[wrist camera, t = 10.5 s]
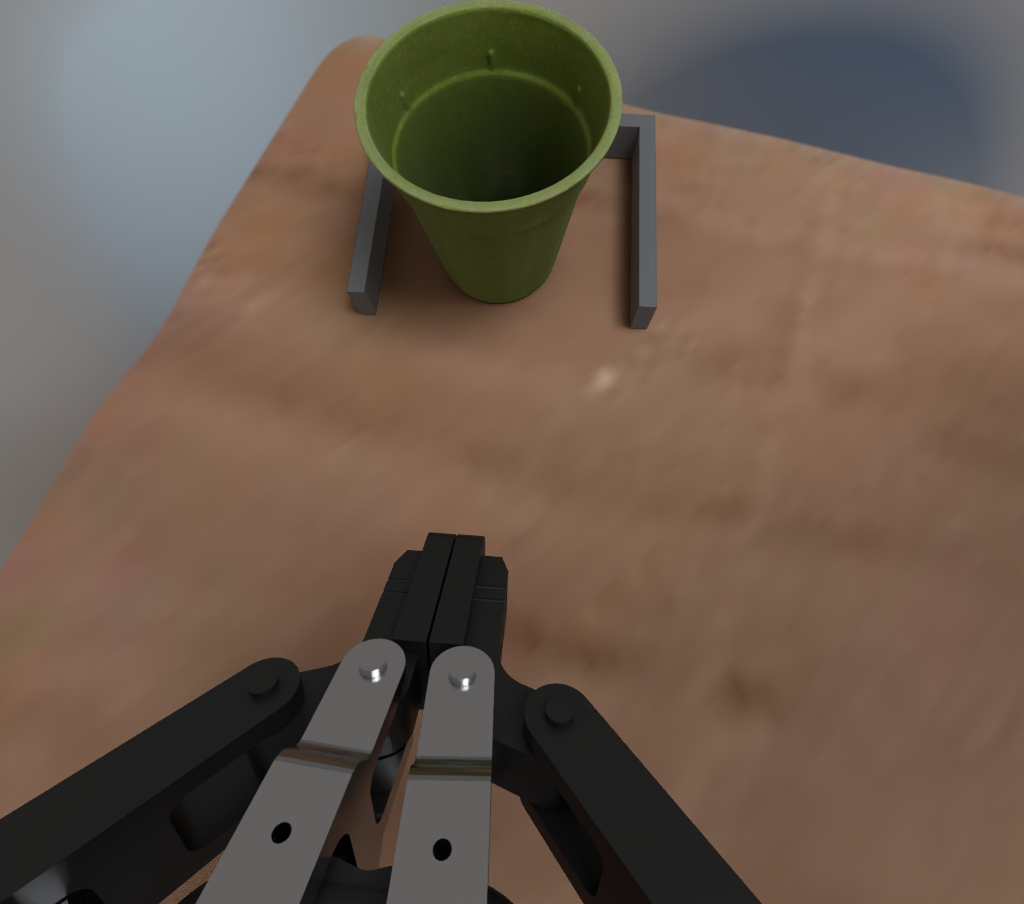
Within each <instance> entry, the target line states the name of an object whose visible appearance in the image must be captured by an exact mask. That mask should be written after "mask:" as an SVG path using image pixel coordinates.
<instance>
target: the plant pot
mask: <svg viewBox="0 0 1024 904" xmlns="http://www.w3.org/2000/svg"><path fill="white" fill-rule="evenodd" d="M621 113H622V89H621V83H620V79H619V76H618V73H617V70H616V68H615V66H614V64H613V62H612V60H611V58H610V57H609V55H608V53H607V52H606V50H605V49H604V48H603V47H602V46H601V45H600V44H599V42H598V41H597V40H596V39H595V38H594V37H593V36H592V35H591V34H590V33H589V32H587V31H586V30H585V29H584V28H582V27H581V26H580V25H578V24H577V23H575V22H574V21H572V20H571V19H569V18H567V17H565V16H563V15H561V14H559V13H557V12H554V11H552V10H549V9H547V8H545V7H541V6H538V5H534V4H530V3H526V2H520V1H513V0H473V1H464V2H460V3H456V4H451V5H447V6H444V7H441V8H438V9H435V10H432V11H430V12H428V13H426V14H423V15H421V16H419V17H417V18H416V19H414V20H412V21H410V22H409V23H407V24H406V25H404V26H403V27H401V28H400V29H398V30H397V31H396V32H394V33H393V34H392V35H391V36H390V37H388V38H387V39H386V40H385V41H384V42H383V43H382V44H381V45H380V47H379V48H378V49H377V50H376V52H375V53H374V54H373V56H372V57H371V59H370V60H369V61H368V63H367V65H366V67H365V69H364V71H363V73H362V75H361V77H360V80H359V83H358V87H357V91H356V95H355V102H354V117H355V124H356V130H357V134H358V137H359V140H360V143H361V145H362V148H363V150H364V152H365V153H366V155H367V157H368V159H369V160H370V161H371V163H372V164H373V166H374V167H375V168H376V169H377V171H378V172H379V173H380V174H381V175H382V176H383V177H384V178H385V179H386V180H387V181H388V182H389V183H391V184H392V185H393V186H394V187H396V188H397V189H398V191H399V192H400V194H401V195H402V197H403V198H404V199H405V200H406V202H407V203H408V204H409V205H410V206H411V207H412V209H413V210H414V212H415V214H416V216H417V218H418V220H419V222H420V223H421V225H422V227H423V229H424V231H425V233H426V235H427V236H428V238H429V240H430V242H431V244H432V246H433V248H434V249H435V251H436V253H437V255H438V257H439V259H440V261H441V263H442V264H443V266H444V268H445V270H446V272H447V273H448V275H449V277H450V278H451V280H452V281H453V282H454V283H455V284H456V285H457V286H458V287H459V288H460V289H461V290H462V291H463V292H465V293H466V294H467V295H469V296H471V297H473V298H475V299H478V300H481V301H485V302H492V303H505V302H511V301H516V300H519V299H521V298H524V297H526V296H527V295H528V294H530V293H531V292H532V291H534V290H535V289H536V288H537V287H539V286H540V285H541V284H542V283H543V282H545V280H546V279H547V277H548V276H549V274H550V272H551V270H552V267H553V265H554V262H555V259H556V256H557V254H558V251H559V248H560V245H561V243H562V240H563V237H564V234H565V231H566V228H567V226H568V223H569V220H570V217H571V214H572V211H573V209H574V206H575V203H576V200H577V197H578V195H579V193H580V191H581V190H582V189H583V187H584V185H585V184H586V182H587V179H588V177H589V175H590V173H591V172H592V171H593V170H594V169H595V168H596V166H597V165H598V164H599V163H600V162H601V160H602V159H603V158H604V156H605V155H606V153H607V151H608V150H609V148H610V146H611V144H612V142H613V140H614V138H615V136H616V133H617V130H618V127H619V124H620V120H621Z"/></svg>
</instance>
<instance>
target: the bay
mask: <svg viewBox="0 0 1024 904" xmlns="http://www.w3.org/2000/svg"><path fill="white" fill-rule="evenodd" d="M604 158H622V159H631V311H630V328H637V329H647V327H648V325H649V323H650V321H651V319H652V317H653V314H654V312H655V310H656V308H657V261H656V151H655V115H635V114H621V120H620V124H619V127H618V130H617V133H616V136H615V138H614V140H613V142H612V144H611V146H610V148H609V150H608V151H607V153H606V155H605V156H604ZM394 194H395V187H394V186H393V185H392V184H391V183H389V182H388V181H387V180H386V179H385V178H384V177H383V176H382V175H381V174H380V173H379V172H378V171H377V169H376V168H375V167H374V166H373V164H372V163H371V161H370V163H369V169H368V175H367V180H366V186H365V192H364V197H363V203H362V209H361V214H360V220H359V226H358V232H357V237H356V243H355V249H354V254H353V260H352V266H351V272H350V277H349V283H348V289H347V292H348V294H349V296H350V298H351V299H352V301H353V303H354V305H355V306H356V308H357V310H358V312H359V313H360V314H367V315H376V309H377V303H378V296H379V290H380V283H381V277H382V271H383V264H384V258H385V251H386V245H387V239H388V232H389V226H390V219H391V213H392V207H393V200H394Z"/></svg>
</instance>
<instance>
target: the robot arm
mask: <svg viewBox="0 0 1024 904" xmlns="http://www.w3.org/2000/svg"><path fill="white" fill-rule="evenodd" d="M507 587H508V570H507V568H506V565H505V563H504V561H503V559H502V557H494V556H485V536H473V535H460V534H458V535H456V534H445V533H431V532H430V533H429V534H428V536H427V538H426V541H425V544H424V547H423V550H422V551H414V550H407V551H406V552H405V553H404V554H403V555H402V556H401V557H400V558H399V559H398V560H397V561H396V562H395V563H394V566H393V568H392V571H391V573H390V576H389V580H388V581H387V583H386V586H385V588H384V592H383V593H382V596H381V598H380V600H379V603H378V605H377V608H376V610H375V613H374V615H373V618H372V620H371V623H370V625H369V628H368V630H367V633H366V635H365V638H364V640H363V642H362V643H360V644H358V645H356V646H355V647H353V648H352V649H351V650H350V651H349V652H348V653H347V654H346V655H345V656H344V658H343V660H342V661H341V662H339V663H337V664H335V665H332V666H328V667H324V668H319V669H314V670H309V671H304V672H299V670H298V668H297V666H296V665H295V664H294V663H293V662H291V661H290V660H287V659H284V658H269V659H264V660H261V661H258V662H256V663H254V664H252V665H250V666H248V667H247V668H245V669H244V670H242V671H240V672H239V673H237V674H235V675H234V676H232V677H231V678H229V679H227V680H226V681H224V682H222V683H221V684H219V685H218V686H216V687H214V688H213V689H211V690H209V691H208V692H206V693H205V694H203V695H201V696H200V697H198V698H196V699H195V700H193V701H192V702H190V703H188V704H187V705H185V706H183V707H182V708H180V709H179V710H177V711H175V712H174V713H172V714H170V715H169V716H167V717H166V718H164V719H162V720H161V721H159V722H157V723H156V724H154V725H153V726H151V727H149V728H148V729H146V730H145V731H143V732H141V733H140V734H138V735H136V736H135V737H133V738H132V739H130V740H128V741H127V742H125V743H123V744H122V745H120V746H119V747H117V748H115V749H114V750H112V751H110V752H109V753H107V754H106V755H104V756H102V757H101V758H99V759H97V760H96V761H94V762H93V763H91V764H89V765H88V766H86V767H84V768H83V769H81V770H80V771H78V772H76V773H75V774H73V775H71V776H70V777H68V778H67V779H65V780H63V781H62V782H60V783H58V784H57V785H55V786H54V787H52V788H50V789H49V790H47V791H45V792H44V793H42V794H41V795H39V796H37V797H36V798H34V799H32V800H31V801H29V802H28V803H26V804H24V805H23V806H21V807H19V808H18V809H16V810H15V811H13V812H11V813H10V814H8V815H6V816H5V817H3V818H2V819H0V904H159V903H160V902H161V901H163V900H164V899H165V898H166V897H167V896H169V895H170V894H171V893H172V892H173V891H175V890H176V889H177V888H178V887H180V886H181V885H182V884H183V883H184V882H186V881H187V880H188V879H189V878H191V877H192V876H193V875H194V874H195V873H197V872H198V871H199V870H200V869H201V868H203V867H204V866H205V865H206V864H208V863H209V862H210V861H211V860H212V859H214V858H215V857H216V856H217V855H218V854H220V853H221V852H222V851H223V850H225V851H224V853H223V855H222V856H221V858H220V860H219V862H218V864H217V866H216V867H215V869H214V871H213V873H212V875H211V877H210V878H209V880H208V881H207V882H205V883H204V884H202V885H201V886H199V887H198V888H197V889H195V890H194V891H193V892H191V893H190V894H189V895H187V896H186V897H185V898H184V899H183V900H181V901H180V902H179V903H178V904H513V903H512V902H511V901H510V900H509V899H508V898H506V897H505V896H504V895H503V894H501V893H500V892H498V891H497V890H495V889H494V888H492V887H490V886H488V880H489V847H490V815H491V784H492V783H494V784H496V785H498V786H500V787H502V788H504V789H506V790H508V791H510V792H512V793H514V794H516V795H518V796H519V797H520V799H521V802H522V804H523V806H524V808H525V810H526V811H527V813H528V815H529V816H530V818H531V819H532V821H533V823H534V824H535V826H536V828H537V829H538V831H539V832H540V834H541V836H542V837H543V839H544V840H545V842H546V844H547V845H548V847H549V849H550V850H551V852H552V853H553V855H554V857H555V858H556V860H557V861H558V863H559V865H560V866H561V868H562V870H563V871H564V873H565V874H566V876H567V878H568V879H569V881H570V882H571V884H572V886H573V887H574V889H575V890H576V892H577V894H578V895H579V897H580V899H581V900H582V902H583V903H584V904H761V902H760V901H759V900H758V899H757V898H756V897H755V895H754V894H753V893H752V892H751V891H750V889H749V888H748V887H747V886H746V885H745V884H744V882H743V881H742V880H741V879H740V878H739V877H738V875H737V874H736V873H735V872H734V871H733V870H732V868H731V867H730V866H729V865H728V864H727V863H726V861H725V860H724V859H723V858H722V857H721V856H720V854H719V853H718V852H717V851H716V850H715V848H714V847H713V846H712V845H711V844H710V843H709V841H708V840H707V839H706V838H705V837H704V836H703V834H702V833H701V832H700V831H699V830H698V829H697V827H696V826H695V825H694V824H693V823H692V822H691V820H690V819H689V818H688V817H687V816H686V814H685V813H684V812H683V811H682V810H681V809H680V807H679V806H678V805H677V804H676V803H675V802H674V800H673V799H672V798H671V797H670V796H669V795H668V793H667V792H666V791H665V790H664V789H663V788H662V786H661V785H660V784H659V783H658V782H657V780H656V779H655V778H654V777H653V776H652V775H651V773H650V772H649V771H648V770H647V769H646V768H645V766H644V765H643V764H642V763H641V762H640V761H639V759H638V758H637V757H636V756H635V755H634V754H633V752H632V751H631V750H630V749H629V748H628V747H627V745H626V744H625V743H624V742H623V741H622V739H621V738H620V737H619V736H618V735H617V734H616V732H615V731H614V730H613V729H612V728H611V727H610V725H609V724H608V723H607V722H606V721H605V720H604V718H603V717H602V716H601V715H600V714H599V713H598V711H597V710H596V709H595V708H594V707H593V705H592V704H591V703H590V702H589V701H588V700H587V698H586V697H585V696H584V695H583V694H582V693H580V692H579V691H578V690H576V689H574V688H573V687H570V686H568V685H564V684H548V685H544V686H542V687H540V688H538V689H537V690H535V689H532V688H530V687H527V686H525V685H523V684H521V683H519V682H517V681H515V680H514V679H512V678H511V677H510V676H509V675H508V674H507V673H506V671H505V670H504V669H503V667H502V665H501V658H502V648H503V639H504V629H505V621H506V612H507ZM419 709H423V710H424V711H423V717H422V724H421V730H420V736H419V742H418V749H417V755H416V760H415V763H414V765H411V768H410V771H409V775H408V779H407V785H406V791H405V796H404V802H403V808H402V814H401V820H400V826H399V832H398V838H397V844H396V850H395V856H394V862H393V866H389V867H384V868H380V869H378V867H379V862H380V856H381V848H382V840H383V835H384V831H385V827H386V824H387V821H388V818H389V815H390V811H391V808H392V805H393V802H394V799H395V796H396V793H397V790H398V787H399V784H400V781H401V777H402V774H403V771H404V768H405V765H406V762H407V759H408V756H409V753H410V750H411V747H412V743H413V730H414V727H415V723H416V719H417V715H418V711H419Z"/></svg>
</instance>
